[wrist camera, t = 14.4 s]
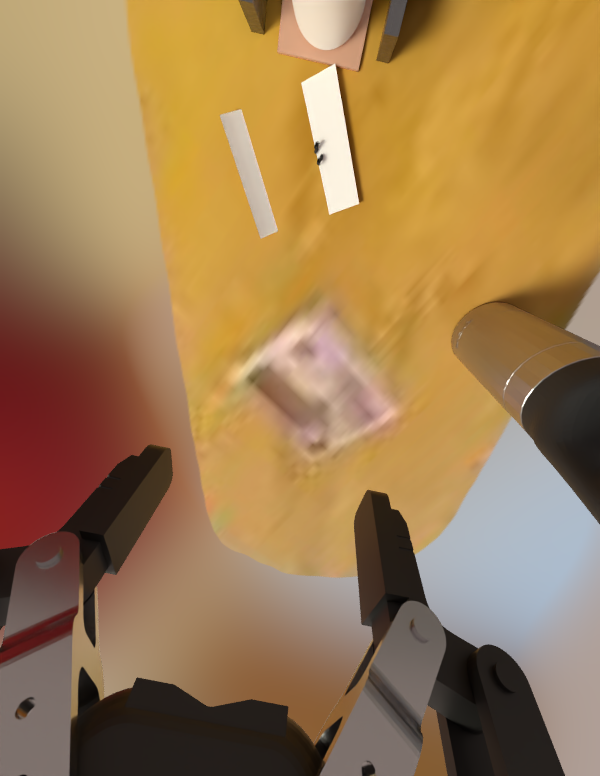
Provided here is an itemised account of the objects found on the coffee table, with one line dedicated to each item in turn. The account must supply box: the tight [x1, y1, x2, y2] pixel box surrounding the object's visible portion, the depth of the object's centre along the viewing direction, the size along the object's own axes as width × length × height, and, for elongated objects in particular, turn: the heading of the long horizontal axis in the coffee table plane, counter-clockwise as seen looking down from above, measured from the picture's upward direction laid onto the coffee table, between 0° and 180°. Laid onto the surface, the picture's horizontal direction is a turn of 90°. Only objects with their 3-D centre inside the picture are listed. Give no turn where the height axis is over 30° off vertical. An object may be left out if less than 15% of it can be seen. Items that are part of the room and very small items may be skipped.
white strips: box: [220, 64, 359, 238], centre depth 31 cm, size 12×12×2 cm
